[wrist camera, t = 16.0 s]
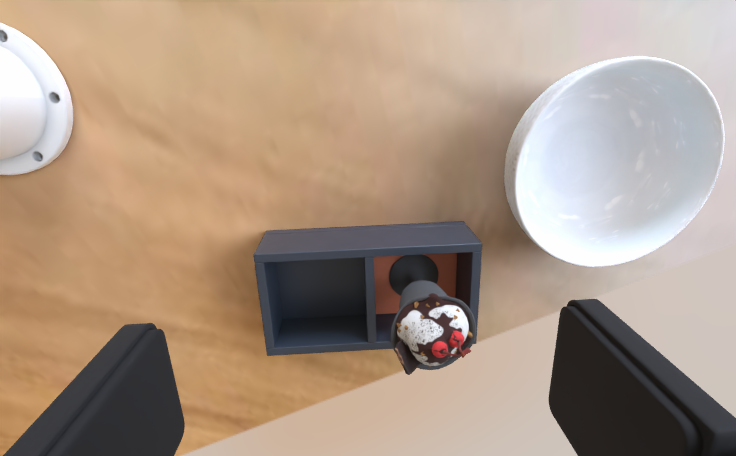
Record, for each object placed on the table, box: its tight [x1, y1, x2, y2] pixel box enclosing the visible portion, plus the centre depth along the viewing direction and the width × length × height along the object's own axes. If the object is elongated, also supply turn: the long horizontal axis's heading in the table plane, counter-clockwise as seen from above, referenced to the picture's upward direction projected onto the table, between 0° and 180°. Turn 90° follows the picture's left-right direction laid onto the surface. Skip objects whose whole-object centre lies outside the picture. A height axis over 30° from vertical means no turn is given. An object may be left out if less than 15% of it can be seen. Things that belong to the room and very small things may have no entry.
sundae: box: [389, 255, 476, 375], centre depth 34 cm, size 7×7×15 cm
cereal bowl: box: [504, 56, 724, 267], centre depth 36 cm, size 17×17×7 cm
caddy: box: [254, 221, 482, 356], centre depth 40 cm, size 10×19×6 cm, turn 92°
